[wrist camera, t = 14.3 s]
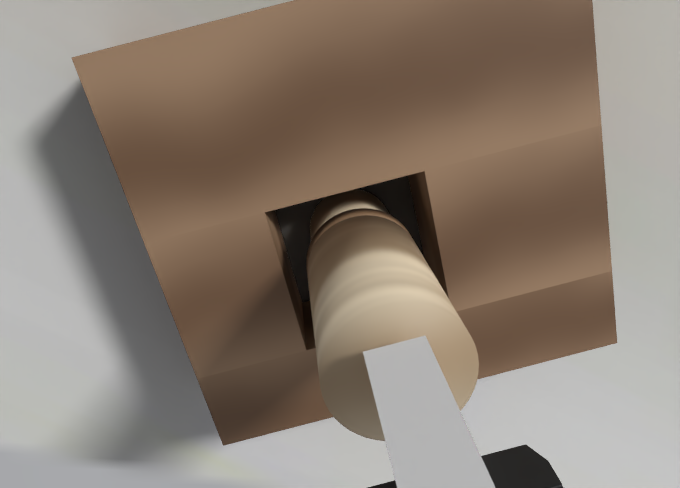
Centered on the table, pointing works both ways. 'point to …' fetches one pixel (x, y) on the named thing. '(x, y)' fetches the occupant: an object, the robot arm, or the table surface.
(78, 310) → the table surface
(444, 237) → the board
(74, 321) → the table surface
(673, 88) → the table surface
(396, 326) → the peg
